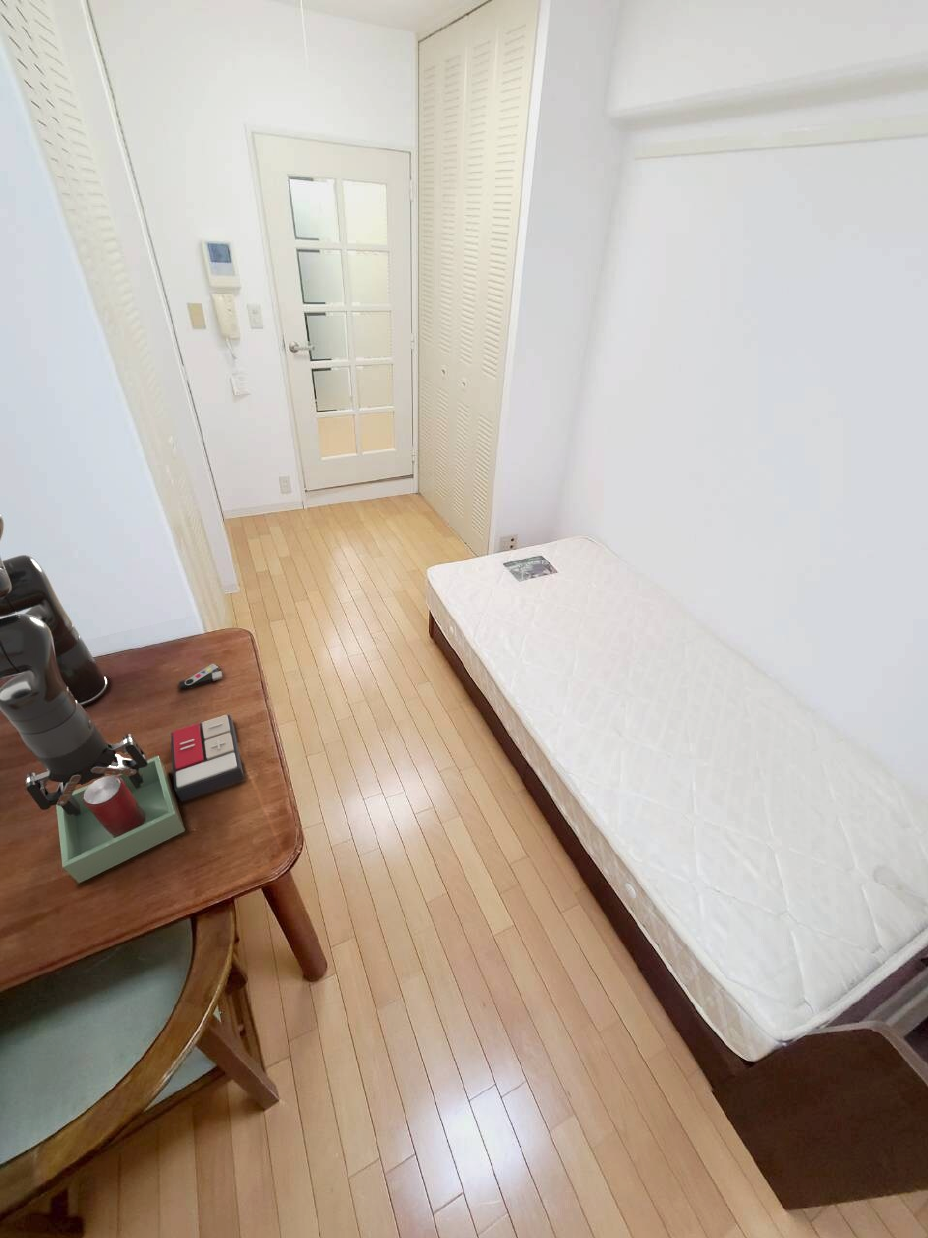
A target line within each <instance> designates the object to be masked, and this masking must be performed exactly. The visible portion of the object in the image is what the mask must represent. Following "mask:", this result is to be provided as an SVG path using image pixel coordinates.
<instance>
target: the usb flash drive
mask: <svg viewBox="0 0 928 1238" xmlns="http://www.w3.org/2000/svg"><path fill="white" fill-rule="evenodd" d="M222 679H223V673H222V670H220V667H218V666H217V665H216V664H214V663H210V665H207V666H206V667H205V668H203V669H202V670H200V671H198V672H197V673H195V674H193V675H192V676H191V677H189V678H187V679H185V680H181V681H179V683H178V684H179V685H178V686H179V689H180V690H181V691H183V690H186V689H187V690H188V689H192V688H194V687H198V686H202V685H205V684H209V683H213V682H214V681H216V680H222Z"/></svg>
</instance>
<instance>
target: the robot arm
mask: <svg viewBox="0 0 928 1238" xmlns="http://www.w3.org/2000/svg"><path fill="white" fill-rule="evenodd" d="M4 529H5V523H4V518H3V515H2V514H1V513H0V541H2V537H3V534H4ZM26 610H27V611H26ZM23 611H26V612H25V613H21V612H23ZM13 676H14V677H13ZM11 677H12V678H11ZM7 678H11V679H9V680H8V681H6V682H5V683H3V685H2V686H1V687H0V711H1V712H2V714H3V715H4V717H6V718H7V720H8V721H9V722H10V723H11V724H12V726H13V727H14V728H15V730H16V731H17V733H19V736H20V738H21V740H22V741H23V743H24V744H25V747H26V748H27V750H28V751H30V752H31V753H32V754H33V755H34V756H35V757H36V759H37V760H38V761H39V762H40V764H41V765H42V766H43V767H44V769H45V770H46V771H44V772H42V773H36V772H29V773H27V774H25V786H26V787H25V788H26V791H27V792H28V794H29V795H30V796H31V798H32V799H33V800H34V802H35V803H36V805H37V806H38V807H39V809H40V810H42V811H47V810H48V809H51V807H52V806H56V805H58V806H61V807H62V808H63V809H64V810H65V812H66V813H67V814H69V815H72V814H74V815H75V816H77V815H79V814H81V809H80V805H79V803H78V802H77V800H76V799H75V798H74V797H73V795H72V794H73V792H74V791H76V790H75V789H76V787H77V785H81V786H84V785H86V784H89V782H91V781H93V780H97V779H100V778H102V777H105V775H110V776H111V775H119V774H124V775H128V777H129V779H130V780H131V782H132V783H133V785H134V786H135V788H136V789H137V788H140V787H141V783H143V777H142V774H141V772H140V770H139V768H144V767H146V766H147V765H148V763H147V760H148V759H147V756H146V753H145V751H144V750H143V748H142V747H141V746H140V745H139V743H138V742H137V740H136V739H135V738H134V736H133V735H132V734H131V733H128V734H125V735H123V737H122V739H123V740H121V741H118V742H116V743H114V744H112V743H109V742H107V741H106V739H105V737H104V736H103V735H102V733H101V732H100V731H99V728H98V727H97V726H96V724H95V722H94V721H93V720H92V718H91V717H90V715H89V713H88V712H87V711H86V709H85V708H84V707H85V706H89V705H90V704H93V703H94V702H96V701H97V700H99V699H100V698H101V697H103V696H104V694H106V692H107V690H108V688H109V681H108V680H107V678H106V676H104V674H103V672H102V671H101V669H100V667H99V666H98V664H97V662H96V660H95V658H94V656H93V655H92V653H91V651H90V650H89V648H88V646H87V645H86V643H85V642H84V640H83V639H82V637H81V635H80V633H79V632H78V630H77V629H76V627H75V624H74V623H73V621H72V620H71V618H70V616H69V614H68V613H67V612H66V610H65V608H64V607H63V605H62V603H61V601H60V600H59V598H58V596H57V594H56V592H55V590H54V588H53V586H52V583H51V582H50V579H49V578H48V576H47V574H46V572H45V570H44V569H43V567H42V566H41V565H40V563H39V562H38V561H37V560H36V559H35V558H33V557H32V556H30V555H27V554H20V555H18V556H14V557H10V558H7V559H4V560H3V559H2V557H1V556H0V680H3V679H7ZM118 753H122V754H124V755H125V756H128V755H129V756H130V757H131V758H127V757H123V756H121V755H120V754H118ZM48 781H50V782H51V781H52V782H56V783H59V784H58V786H57V788H56V789H55V791H54V792H50V791H49V790H48V788H47V786H48Z"/></svg>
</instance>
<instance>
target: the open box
mask: <svg viewBox="0 0 928 1238" xmlns="http://www.w3.org/2000/svg"><path fill="white" fill-rule="evenodd" d="M147 763H148V765H147V766H146V767H144V768H139V770H140V772H141V774H142V777H143V783H141V787H140V788H137V789H136V788H135V786H134V785H133V783H132V782H131V780H130V779H129V777H128V775H124V774H119V775H111V774H110V776H118V777H120V778H121V779H122V781H123V782H124V783H125V785H126V786H127V788H128V789H129V791H130V792H131V794H132V795H133V797H134V798H135V800H136V801H137V802H138V804H139V805H140V807H141V808H142V810H143V811H144V813H145V822H144V824H143V825H142V826H140V827H137V828H135V829H133V830H131V831H129V832H127V833H125V834H123V835H121V836H119V837H116V838H113V837H111V836H110V834H109V833H108V832H107V831H106V829H105V828H104V827H103V826H102V824H101V823H100V822H99V821H98V820H97V818H96V817H95V816H94V815H93V813H92V812H91V811H90V810H89V808H88V807H87V806H86V805H85V804H84V802H83V794H84V792H85V790H86V789H87V788H88V786H89V785H91V784H92V783H90V784H88V785H86V786H82V787H81V788H78V789H76V790H74V792H73V794H72V795H73V797H74V798H75V799H76V800H77V802H78V803H79V805H80V809H81V814H79V815H77V816H75V815H74V814H72V815H69V814H67V813H66V812H65V810H64V809H63V808H62V807H61V806H58V805H55V806H56V816H57V824H58V825H57V826H58V835H59V845H60V855H61V867H62V869H64V870H65V872H67V874H68V875H69V876H71V877H72V878H73V880H75V882H77V884H81V883H84V882H85V881H87V880H89V879H91V878H93V877H95V876H97V875H99V874H101V873H103V872H105V871H107V870H109V869H112V868H113V867H116V866H118V865H119V864H121V863H123V862H125V861H127V860H129V859H131V858H133V857H135V856H137V855H139V854H141V853H143V852H145V851H147V850H149V849H151V848H154V847H156V846H158V845H159V844H161V843H163V842H165V841H168V840H170V839H171V838H173V837H176V836H177V835H180V834H182V833H185V831H186V829H185V825H184V822H183V819H182V816H181V813H180V808H179V806H178V802H177V799H176V795H175V790H174V787H173V783H172V781H171V777H170V774H169V772H168V770H167V768H166V767H165V765H164V763H163V761H162V760H161V758H160V756H159V755H156V756H153V757H152V758H149V759H147Z"/></svg>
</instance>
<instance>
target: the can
mask: <svg viewBox="0 0 928 1238" xmlns="http://www.w3.org/2000/svg"><path fill="white" fill-rule="evenodd" d="M90 784H91V785H90ZM90 784H88V785H89V786H88V785H87V786H88V788H87V789H86V790H85V792H84V794H83V802H84V804H85V805H86V806H87V807H88V808H89V810H90V811H91V812H92V813H93V815H94V816H95V817H96V818H97V820H98V821H99V822H100V823H101V824H102V826H103V827H104V828H105V829H106V831H107V832H108V833H109V834H110V836H111V837H113V838H116V837H119V836H121V835H123V834H125V833H127V832H129V831H131V830H133V829H135V828H137V827H140V826H142V825H143V824H144V822H145V813H144V811H143V810H142V808H141V807H140V805H139V804H138V802H137V801H136V800H135V798H134V797H133V795H132V794H131V792H130V791H129V789H128V788H127V786H126V785H125V783H124V782H123V781H122V779H121V778H120V777H118V776H111V775H106V776H102V777H100V778H97V779H95V780H94V781H93V782H92V783H90Z"/></svg>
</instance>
